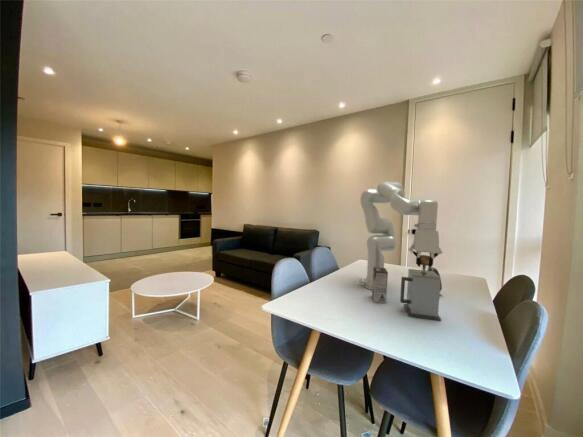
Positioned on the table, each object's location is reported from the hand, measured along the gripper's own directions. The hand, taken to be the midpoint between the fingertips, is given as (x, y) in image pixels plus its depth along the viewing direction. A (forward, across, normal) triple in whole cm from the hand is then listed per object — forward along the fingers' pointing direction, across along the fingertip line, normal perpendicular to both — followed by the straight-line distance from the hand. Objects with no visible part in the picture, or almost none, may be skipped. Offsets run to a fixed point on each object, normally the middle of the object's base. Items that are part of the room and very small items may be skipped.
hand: (424, 266), depth 117 cm
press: (+22, -1, 0) cm, 22 cm away
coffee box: (+22, -18, +11) cm, 31 cm away
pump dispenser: (+22, +12, +31) cm, 40 cm away
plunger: (+16, 0, 0) cm, 16 cm away
